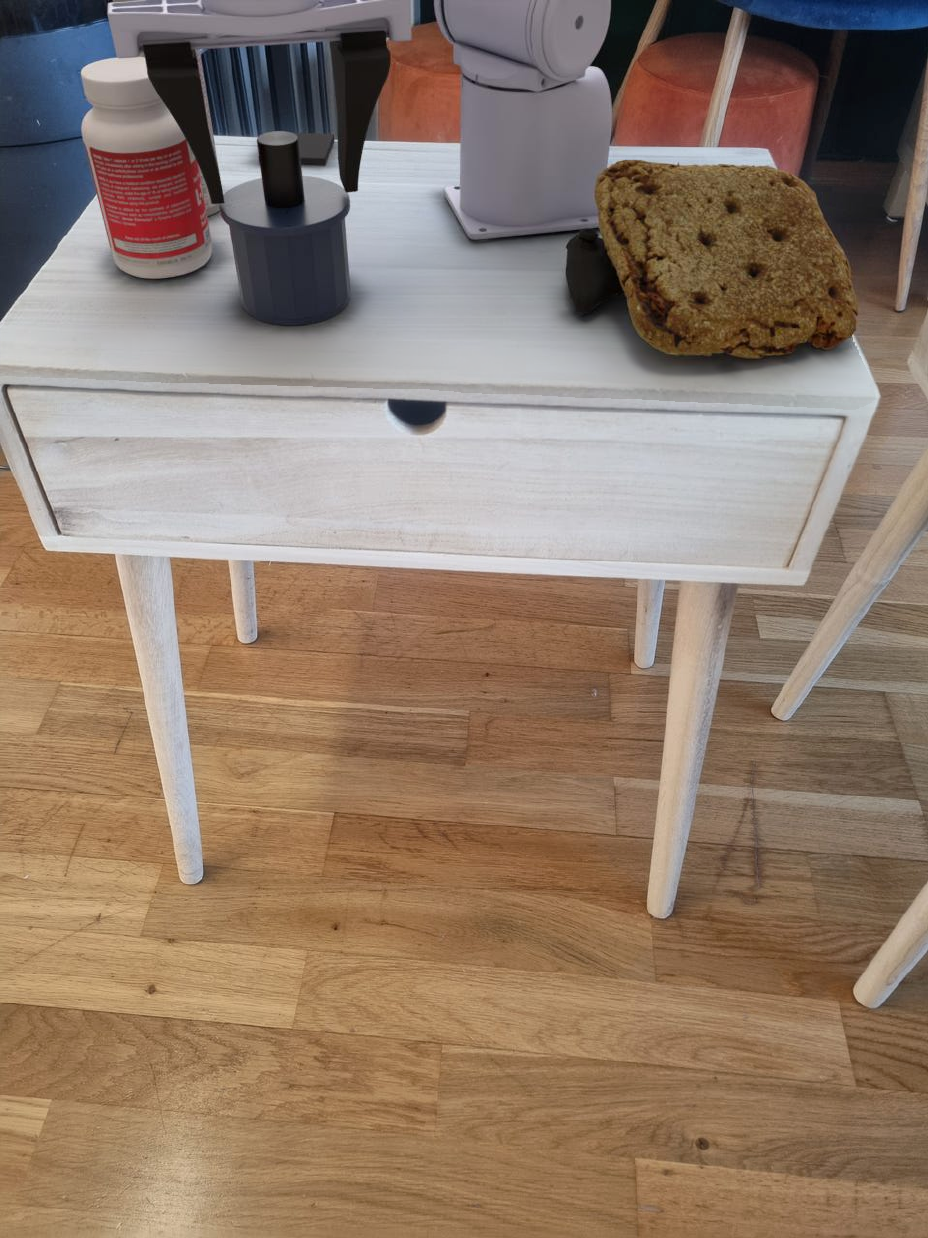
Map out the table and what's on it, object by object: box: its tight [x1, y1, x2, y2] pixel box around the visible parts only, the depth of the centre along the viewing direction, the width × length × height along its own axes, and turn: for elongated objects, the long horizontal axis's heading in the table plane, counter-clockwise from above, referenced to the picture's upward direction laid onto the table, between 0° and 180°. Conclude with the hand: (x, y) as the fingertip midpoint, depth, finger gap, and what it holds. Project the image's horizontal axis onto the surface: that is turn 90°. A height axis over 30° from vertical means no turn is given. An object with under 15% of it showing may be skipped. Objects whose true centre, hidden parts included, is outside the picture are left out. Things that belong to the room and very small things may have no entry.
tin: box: [228, 217, 351, 326], centre depth 57 cm, size 6×6×5 cm
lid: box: [219, 130, 351, 237], centre depth 54 cm, size 7×7×4 cm
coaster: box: [257, 132, 335, 166], centre depth 75 cm, size 5×5×1 cm
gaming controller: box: [564, 228, 625, 316], centre depth 59 cm, size 9×5×5 cm
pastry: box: [594, 159, 859, 359], centre depth 56 cm, size 17×17×3 cm
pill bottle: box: [80, 57, 213, 280], centre depth 59 cm, size 6×6×11 cm
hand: (283, 190), depth 55 cm, fingers open, 7 cm apart
